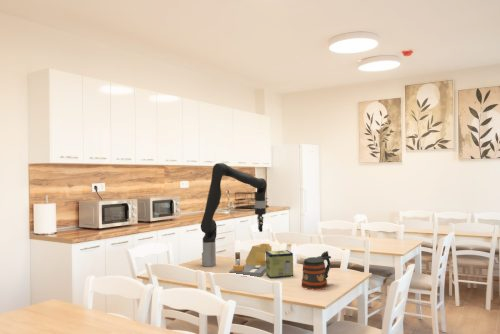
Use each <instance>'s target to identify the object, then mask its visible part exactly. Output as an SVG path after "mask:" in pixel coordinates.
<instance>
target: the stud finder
mask: <svg viewBox="0 0 500 334" xmlns="http://www.w3.org/2000/svg"><path fill="white" fill-rule="evenodd" d="M244 265H245V264H240V265H235V264H234V265H233V268H232V269H233V271H243V270H244Z"/></svg>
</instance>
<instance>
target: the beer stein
mask: <svg viewBox="0 0 500 334" xmlns="http://www.w3.org/2000/svg"><path fill="white" fill-rule="evenodd" d="M331 258H332V256H330V255H329V251H326V250H325V251H324V252H322V253H321V255H319V256H315V257H314V256H313V257H307V258H305V259H304V260H303V263H302V279H301V288H303V289H305V288H307V289H306V290H312V289H319V290H324V289H326V287H327V288H328V277H329V271H330V268H331V260H330V259H331ZM325 261H326V263H327V265H326V264H325ZM323 288H324V289H323Z"/></svg>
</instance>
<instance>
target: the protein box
mask: <svg viewBox="0 0 500 334" xmlns="http://www.w3.org/2000/svg"><path fill="white" fill-rule="evenodd" d="M265 260H266V272H265V275H266V276H267V277H268V278H270V279H279V278H290V277H291V276H292V277H294V253H293V252H292V251H290V250H289V249H285V250H271V251H267V252H266V253H265Z"/></svg>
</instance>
